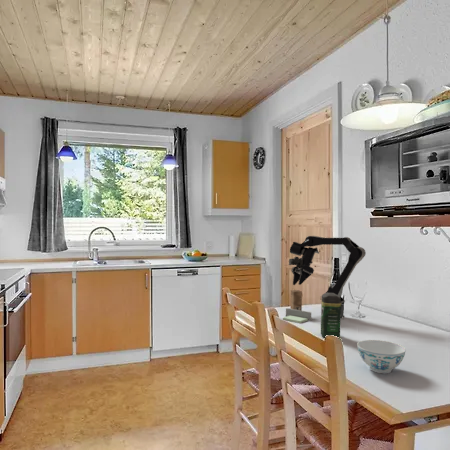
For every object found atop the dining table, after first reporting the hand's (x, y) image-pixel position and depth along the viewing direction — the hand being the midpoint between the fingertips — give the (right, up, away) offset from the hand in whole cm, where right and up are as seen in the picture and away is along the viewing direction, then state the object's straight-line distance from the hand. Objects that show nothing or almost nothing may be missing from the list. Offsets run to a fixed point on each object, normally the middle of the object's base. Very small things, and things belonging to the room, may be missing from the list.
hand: (296, 284), depth 213 cm
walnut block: (-1, -16, -3) cm, 16 cm away
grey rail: (-1, -16, -9) cm, 18 cm away
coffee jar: (+7, -16, -41) cm, 45 cm away
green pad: (-3, -16, -13) cm, 21 cm away
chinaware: (+14, -17, -80) cm, 82 cm away
